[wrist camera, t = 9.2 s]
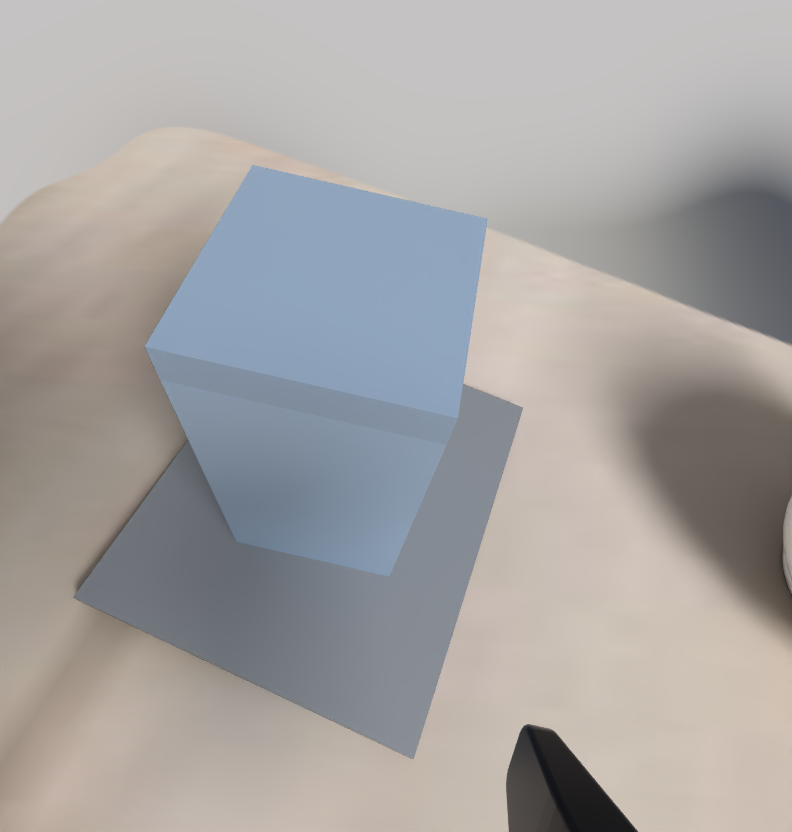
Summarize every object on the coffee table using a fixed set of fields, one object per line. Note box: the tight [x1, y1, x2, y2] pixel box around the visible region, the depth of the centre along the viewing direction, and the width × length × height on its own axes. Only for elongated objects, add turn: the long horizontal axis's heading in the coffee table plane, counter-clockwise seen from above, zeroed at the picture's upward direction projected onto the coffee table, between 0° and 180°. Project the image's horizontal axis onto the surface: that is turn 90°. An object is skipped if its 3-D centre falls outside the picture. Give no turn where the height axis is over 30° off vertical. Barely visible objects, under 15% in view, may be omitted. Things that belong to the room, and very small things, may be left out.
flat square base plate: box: [73, 384, 523, 759], centre depth 18 cm, size 14×12×4 cm
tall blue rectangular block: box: [144, 165, 487, 576], centre depth 16 cm, size 8×6×11 cm
